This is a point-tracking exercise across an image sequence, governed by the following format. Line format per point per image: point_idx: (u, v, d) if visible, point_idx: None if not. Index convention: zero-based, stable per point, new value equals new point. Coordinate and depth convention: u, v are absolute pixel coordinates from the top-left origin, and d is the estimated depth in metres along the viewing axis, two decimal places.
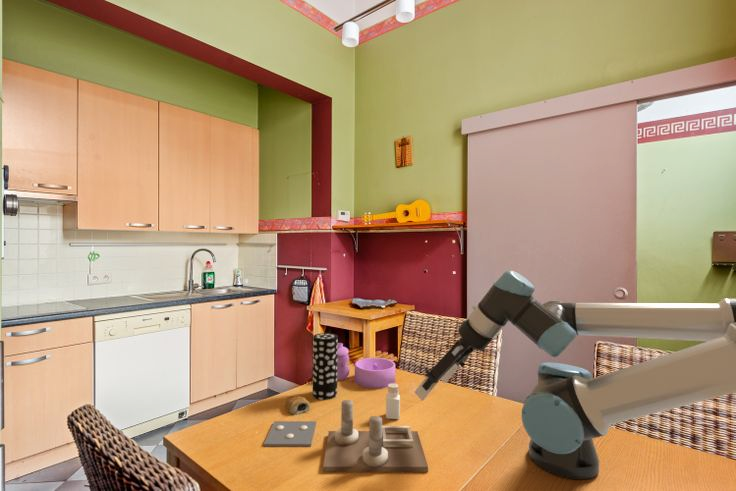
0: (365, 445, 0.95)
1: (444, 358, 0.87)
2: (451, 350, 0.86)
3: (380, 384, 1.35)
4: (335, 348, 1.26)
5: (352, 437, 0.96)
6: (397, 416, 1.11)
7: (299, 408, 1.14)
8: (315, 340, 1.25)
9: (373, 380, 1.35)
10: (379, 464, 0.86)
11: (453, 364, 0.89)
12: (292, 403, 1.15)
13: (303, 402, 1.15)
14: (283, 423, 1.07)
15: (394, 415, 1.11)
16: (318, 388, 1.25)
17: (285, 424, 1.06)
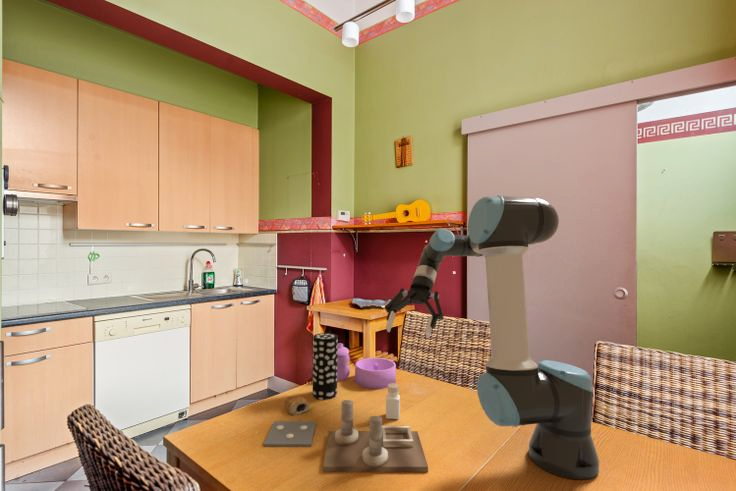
0: (365, 445, 0.95)
1: None
2: None
3: (381, 384, 1.35)
4: (335, 348, 1.26)
5: (352, 437, 0.96)
6: (397, 416, 1.11)
7: (298, 408, 1.14)
8: (315, 340, 1.25)
9: (374, 380, 1.34)
10: (379, 464, 0.86)
11: None
12: (291, 403, 1.15)
13: (302, 402, 1.15)
14: (283, 423, 1.07)
15: (394, 415, 1.11)
16: (318, 388, 1.25)
17: (285, 424, 1.06)
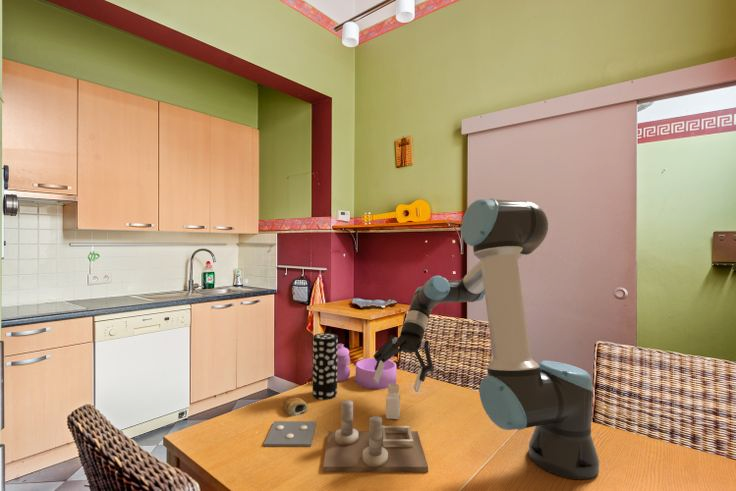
0: (365, 445, 0.95)
1: None
2: None
3: (382, 384, 1.34)
4: (335, 348, 1.26)
5: (352, 437, 0.96)
6: (397, 416, 1.11)
7: (296, 409, 1.14)
8: (315, 340, 1.25)
9: None
10: (379, 464, 0.86)
11: (392, 348, 1.25)
12: (289, 404, 1.14)
13: (301, 403, 1.14)
14: (283, 423, 1.07)
15: (394, 415, 1.11)
16: (318, 388, 1.25)
17: (285, 424, 1.06)
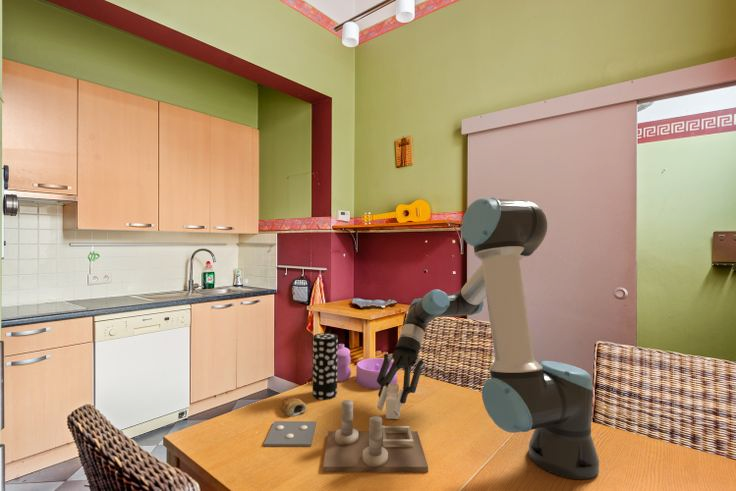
0: (365, 445, 0.95)
1: None
2: None
3: None
4: (335, 348, 1.26)
5: (352, 437, 0.96)
6: (397, 416, 1.11)
7: (295, 409, 1.13)
8: (315, 340, 1.25)
9: (376, 381, 1.34)
10: (379, 464, 0.86)
11: (390, 368, 1.18)
12: (288, 405, 1.14)
13: (299, 404, 1.14)
14: (283, 423, 1.07)
15: (394, 415, 1.11)
16: (318, 388, 1.25)
17: (285, 424, 1.06)
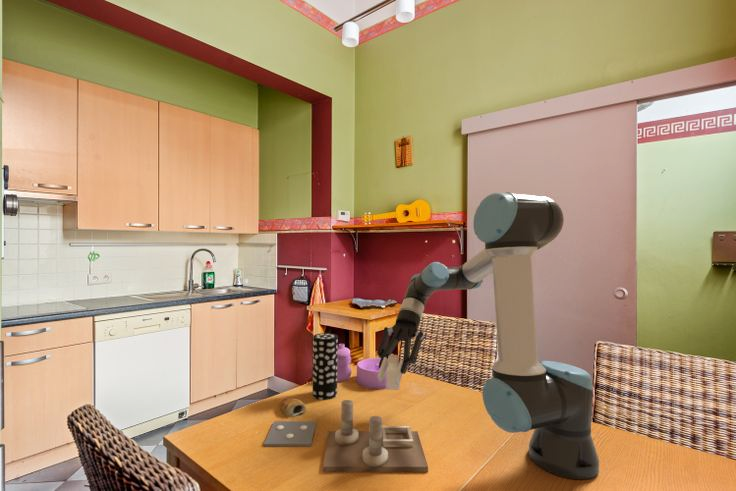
0: (365, 445, 0.95)
1: None
2: None
3: (383, 384, 1.34)
4: (335, 348, 1.26)
5: (352, 437, 0.96)
6: (397, 386, 1.11)
7: (295, 410, 1.13)
8: (315, 340, 1.25)
9: (376, 380, 1.34)
10: (379, 464, 0.86)
11: (391, 340, 1.18)
12: (288, 405, 1.13)
13: (299, 404, 1.14)
14: (283, 423, 1.07)
15: (395, 385, 1.11)
16: (318, 388, 1.25)
17: (285, 424, 1.06)
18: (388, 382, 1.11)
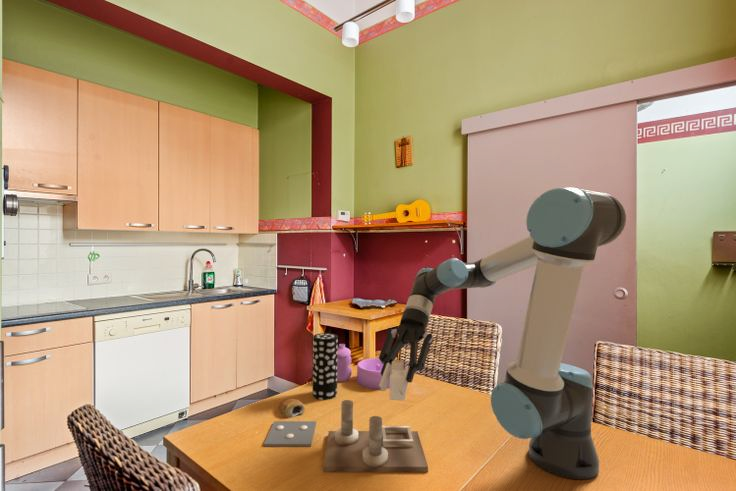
0: (365, 445, 0.95)
1: None
2: None
3: None
4: (335, 348, 1.26)
5: (352, 437, 0.96)
6: (403, 397, 0.96)
7: (294, 410, 1.13)
8: (315, 340, 1.25)
9: (377, 381, 1.34)
10: (379, 464, 0.86)
11: (395, 343, 1.03)
12: (287, 406, 1.13)
13: (298, 404, 1.14)
14: (283, 423, 1.07)
15: (399, 395, 0.96)
16: (318, 388, 1.25)
17: (285, 424, 1.06)
18: (392, 392, 0.97)
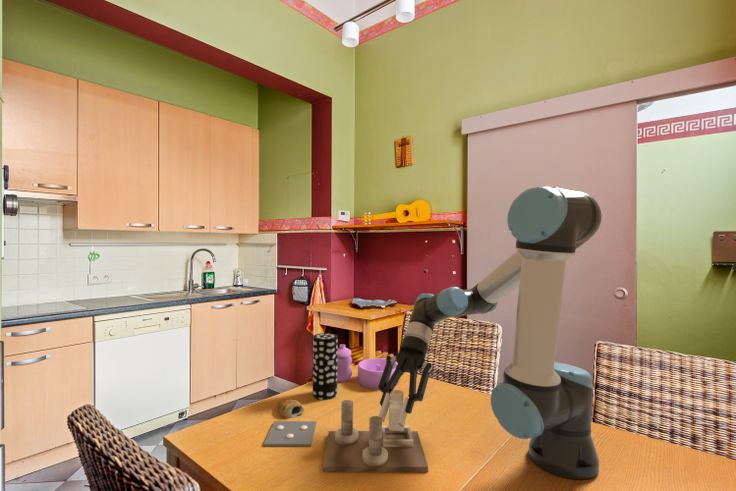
0: (365, 445, 0.95)
1: None
2: None
3: None
4: (335, 348, 1.26)
5: (352, 437, 0.96)
6: (402, 428, 0.96)
7: (293, 411, 1.12)
8: (315, 340, 1.25)
9: (378, 381, 1.34)
10: (379, 464, 0.86)
11: (394, 372, 1.03)
12: (286, 407, 1.13)
13: (297, 405, 1.13)
14: (283, 423, 1.07)
15: (399, 426, 0.96)
16: (318, 388, 1.25)
17: (285, 424, 1.06)
18: (391, 422, 0.97)
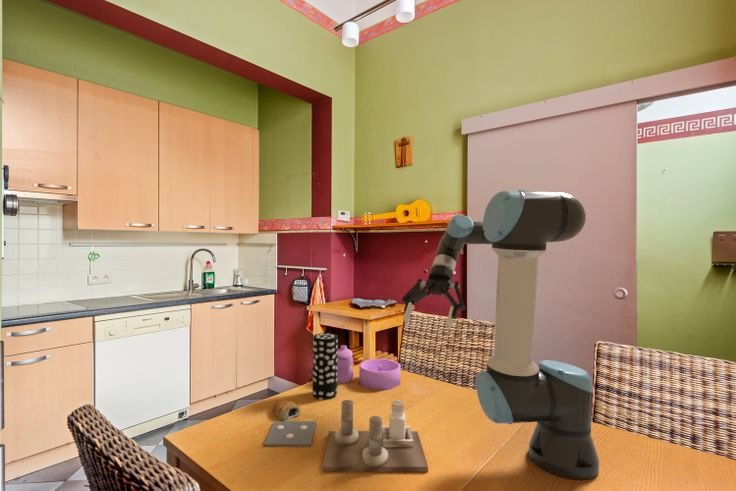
0: (365, 445, 0.95)
1: None
2: None
3: (388, 385, 1.34)
4: (335, 348, 1.26)
5: (352, 437, 0.96)
6: None
7: (290, 413, 1.11)
8: (315, 340, 1.25)
9: (381, 381, 1.33)
10: (379, 464, 0.86)
11: (420, 290, 1.23)
12: (282, 409, 1.11)
13: (294, 407, 1.12)
14: (283, 423, 1.07)
15: (399, 437, 0.96)
16: (318, 388, 1.25)
17: (285, 424, 1.06)
18: (391, 433, 0.97)
